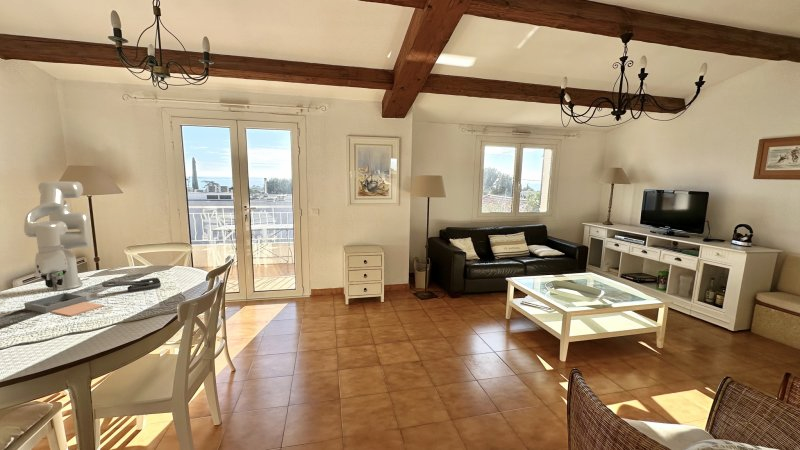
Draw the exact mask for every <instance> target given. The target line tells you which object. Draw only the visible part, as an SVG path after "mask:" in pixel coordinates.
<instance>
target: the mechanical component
mask: <svg viewBox="0 0 800 450" xmlns="http://www.w3.org/2000/svg"><path fill="white" fill-rule="evenodd" d="M63 277H64V276H63V273H62V272H53V273H50V279H52V284H53V287H52V288H53V290H52V292H54V293H55V292H57V291H59V290H57V282H58V281H57V280H58V279H62V278H63Z"/></svg>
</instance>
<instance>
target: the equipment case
mask: <svg viewBox="0 0 800 450" xmlns="http://www.w3.org/2000/svg"><path fill="white" fill-rule="evenodd" d="M104 297H105V298H106V295H105V294H99V293H96V292H95V293H93V292H87V291H83V292H78V293H70V292H62V293H59V294H55V295H50V296H47V297H46V296H45V297H43V298H39V299H35V300H31V301H26V302H24V303H23V304H24V309H25V310H28V311H34V312H38V313H44V314H49V313H51V311H53V310H57V309H60V308H64V307H67V306H71V305H75V304H78V303H82V302H92V301H94V300H98V299H102V298H104ZM62 300H65V301H62ZM59 301H62V302H59ZM55 302H57V303H55ZM51 303H53V304H51ZM48 304H50V305H48ZM46 305H47V306H46Z"/></svg>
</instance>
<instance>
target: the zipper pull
mask: <svg viewBox="0 0 800 450" xmlns="http://www.w3.org/2000/svg"><path fill="white" fill-rule="evenodd" d="M101 285H102V287H103V288H111V287H112V288H113V287H114V288H115V287H125V286H128V287H127V292H128V293H137V292H143V291H150V290H156V289H159V288H161V286H162V283H161V281H160V278H158V277H151V278H150V277H149V278H143V279H140V280H134V281H133V280H130V281H129V280H125V281H104V282H102V284H101Z"/></svg>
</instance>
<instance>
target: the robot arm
mask: <svg viewBox="0 0 800 450" xmlns="http://www.w3.org/2000/svg"><path fill="white" fill-rule="evenodd" d="M37 186H38V187H37V188H38V192H39V193H40V197H39V205H37V206H35V207H33V208H32V209H31V210H30V211H28V213H27V214H26V216H25V218H24V224H23V232H24V234H25V235H26V237H29V238H36V242H37V243H36V245H37V251H38V252H36V254H35V259H34V262H35V263H34V267H35V268H34V269H35V273H34V275H33V276H34V277H36V278H41V279H43V280H44V282H45V287H46V288H51V290H52V291H53V288H52V287H53V284H52V279H50V273H53V272H62V273H63V276H64V277H63V278H62V279H58V280H57V281H58V282H57V290H58V291H66V290H72V289H76V288H80V287H82V286H83V284H84V283H83V281H88V280H89V279H90V277H89V276H84V277H83V276H79V274H78V265H77V257H76V255H75V253H74V252H72V251H71V249H72V250H73V249H81V248H82V249H83V248H88V247H89V246H91V243H92V235H91V223H90V218H89V216H88V214H86V213H84V212H71V204H70V203H69V202H68V201H67V200H65V199H78V198H80V197H81V196H83V193H84V187H83V184H82V183H81V182H79V181H65V180H64V181H63V180H62V181H59V180H58V181H55V180H53V181H52V180H51V181H50V180H49V181H48V180H47V181H42V182H40V183H39V184H38V185H37ZM47 216H48V217H49V221H47V220H46V221H44V220H43V221H39V220H40V219H42V218H45V217H47ZM69 230H77V231H69Z"/></svg>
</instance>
